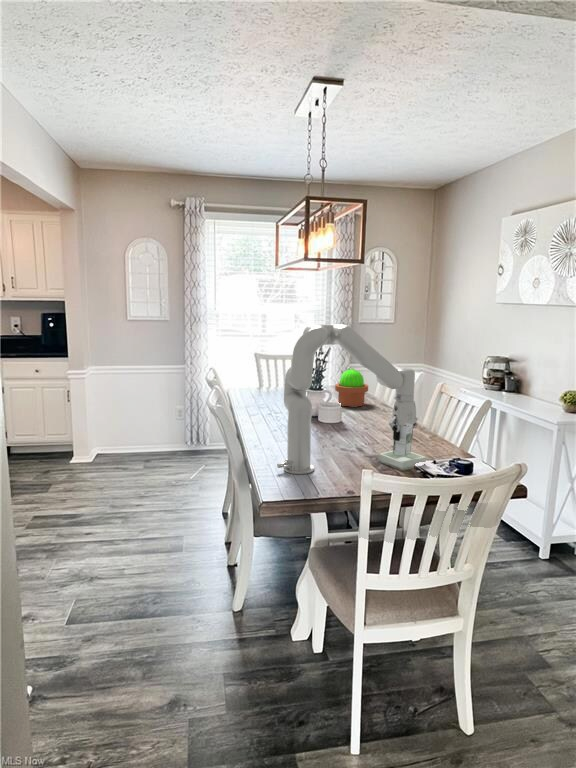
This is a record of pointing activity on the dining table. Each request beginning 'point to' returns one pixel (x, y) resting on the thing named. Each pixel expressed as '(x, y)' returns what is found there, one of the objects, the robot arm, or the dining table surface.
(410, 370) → the robot arm
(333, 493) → the dining table surface
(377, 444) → the dining table surface
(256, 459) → the dining table surface
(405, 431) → the syrup box
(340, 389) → the potted cactus
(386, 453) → the tray
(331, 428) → the dining table surface
